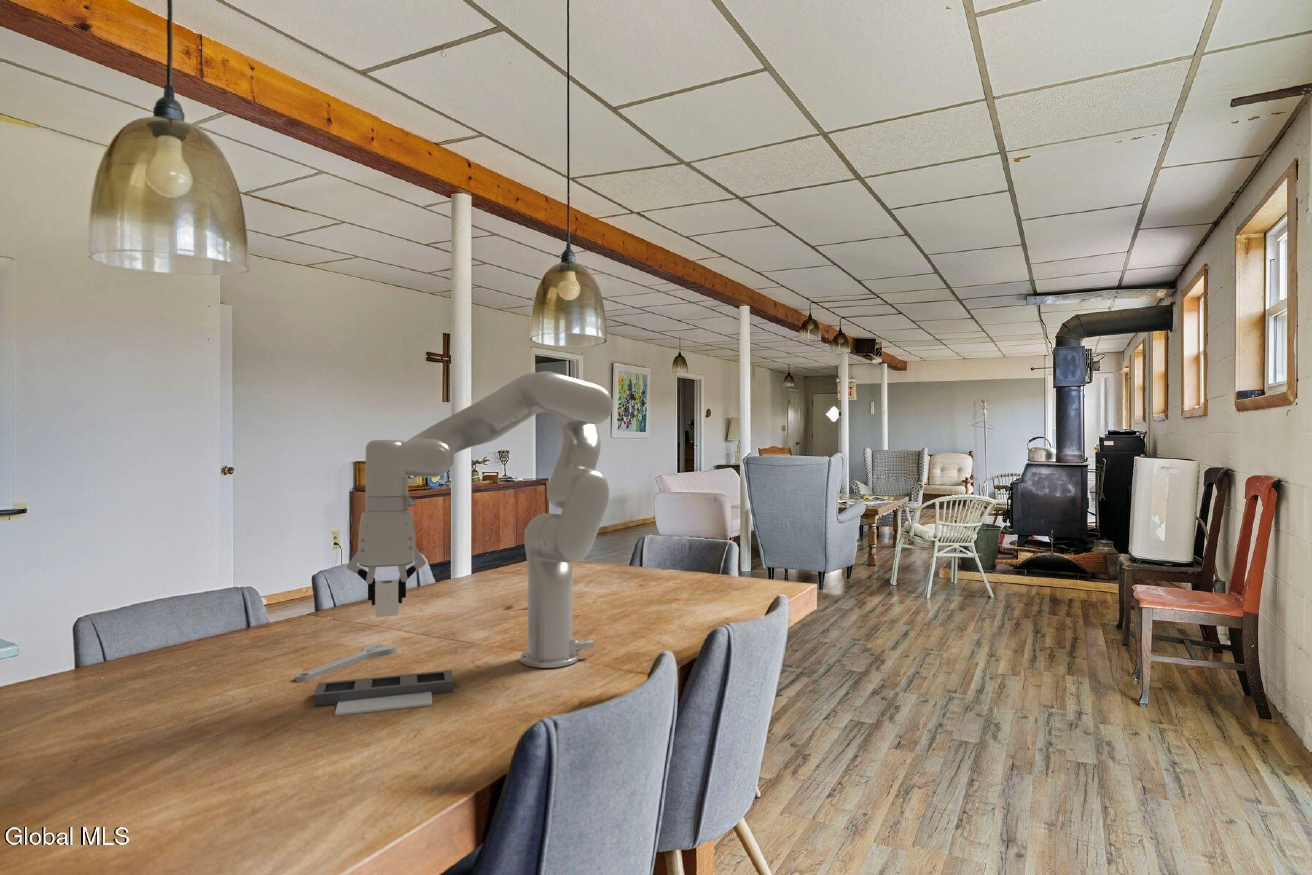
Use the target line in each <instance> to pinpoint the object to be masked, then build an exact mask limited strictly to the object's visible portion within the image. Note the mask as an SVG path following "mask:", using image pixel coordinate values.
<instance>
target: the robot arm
mask: <svg viewBox="0 0 1312 875" xmlns="http://www.w3.org/2000/svg"><path fill="white" fill-rule="evenodd" d="M613 406H614V405H613V399H612V396H611V394H610V393H609V392H608V390H607V389H605V388H604V387H602V386H601V385H598V384H597V383H593V382H589V381H585V380H582V379H578V378H574V377H572V376H570V375H569V376H568V375H565V374H561V373H557V372H554V371H549V370H546V371H545V370H542V371H538V372H530V373H529V372H528V373H525V374H523V375H521V376H518V377H517V378H514V379H513V380H511V381H509V382H507V384H505V385H503V386H502V387H500V388H498V389H497V390H495V391H493V392H492V393H490V394H489V395H487V396H484V397H483V398H481V399H480V400H478V401H476V402H474V403H473V404H471V405H469V406H467V407H465V408H463V409H461V410H459V411H458V412H455V413H454V414H453V415H450V416H448V417H446V418H444V419H442V420H440V421H438V422H436V423H435V424H433V425H431V426H429V427H428V428H426V429H424V430H422V431H421V432H419V433H417V434H416V435H414V436H413V437H411V438H409V439H408V440H407V441H404V440H402V439H401V440H399V439H373V440H371V441H370V440H369V442H367V444H366V446H365V512H361V516H360V521H359V529H358V537H357V538H358V539H357V551H356V552H355V554H354V555H353V557H352V558H351V559H350V560H349V563H348V564H347V566H346V568H347V570H349V571H350V572H352V573H354V574H356V575H358V576H359V577H360V578H361V579H362V580H364V582H365V583H366V584H367V601H371V606H375V584H376V578H375V574H376V573H375V572H376V568H382V567H383V568H384V567H386V568H387V567H398V572H399V577H398V579H399V581H398V603H399V604H403V599H405V598H407V581H408V580H409V579H410V578H411V576H413V575H414V574H415V573H416V572H417V571H418V570H420V569H421V568H423V567H424V566H425V565H427V564H426V563H427V562H426V560H425V558H424V556H423V555H422V554H421V552H420V551H419V550H418V548H417V546H416V543H417V542H416V528H415V527H416V526H415V518H414V515H413V514H414V513H413V511H411V510H410V511H409V508H411V507H413V506H417V498H413V497H410V496H409V477H420V478H421V477H422V478H427V479H428V478H429V479H430V478H431V479H432V478H433V479H435V478H439V477H442V476H443V475H445V474H446V473H447V472H449V471H450V469H451V468H452V466H453V463H454V455H455V454H457V453H459V452H462V451H464V450H467V449H470V448H472V447H477V446H480V445H484V444H487V443H490V442H492V441H495V440H497V439H500V438H501V437H502V436H505V434H507V433H509V432H510V431H512V430H513V429H515V428H516V427H518V426H519V425H521V424H522V423H524V422H526V421H527V420H529V419H530V418H532V417H533V416H535V415H536V414H539V413H552V414H554V416H555V418H556V420H557V421H558V424H559V425H560V428H561V431H562V437H563V438H562V446H561V449H560V452H559V456H558V458H557V461H556V463H555V466H554V469H553V472H552V474H551V477H550V479H549V481H548V484H547V489H546V496H547V499H548V501H549V503H550V504H551V505H552V506H553V507H555V508H556V509H560V510H561V513H560V514H557V513H552V512H550V513H549V512H548V513H547V512H546V513H541V514H539V515H536V516H534V518H532V519H531V520H530V521H529V522H528V524H527V526H526V528H525V532H524V540H523V541H524V549H525V550H524V551H525V556H526V563H527V650H525V651H523V652H522V653H520V657H519V658H520V659H519V660H520V662H521V664H523V665H525V666H528V667H531V668H537V669H538V668H539V669H540V668H541V669H551V668H553V669H555V668H562V667H566V666H570V665H573V664H575V663H576V662H578V661H579V659H580V651H581V650H592V649H593V650H594V647H595V643H594V640H593V639H586V638H579V639H576V638H575V637H574V636H573V572H572V565H571V564H574V563H578V562H580V561H582V560H583V559H585V558H586V557H587V555H588V554H589V552H590V551H591V549H592V548H593V545H594V543H595V540H596V538H597V535H598V532H599V530H600V527H601V524H602V521H603V518H604V515H605V511H606V509H607V506H608V503H609V498H610V489H609V483H608V480H607V479H606V477H605V476H604V475H603V474H602V472H600V471H599V470H596V467H597V463H598V460H599V457H600V454H601V448H602V446H601V445H602V444H601V443H602V442H601V437H600V434H599V430H598V428H597V427H598V426H597V425H599V424H601V423H603V422H605V421H606V420H608V418H609V417H610V416H611V414H612V410H613ZM415 561H416V562H415ZM414 562H415V563H414ZM411 564H412V565H411ZM408 565H409V567H408V568H407V566H408ZM365 568H368V569H365Z"/></svg>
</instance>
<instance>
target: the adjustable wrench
mask: <svg viewBox="0 0 1312 875" xmlns="http://www.w3.org/2000/svg"><path fill="white" fill-rule="evenodd" d="M382 646H383V644H382V643H374V644H371V645H370V644H369V645H367V646H365V647H364V646H362V649H361V650H360V651H359V652H357V653H355V654H352V655H348V656H345V657H343V658H340V659H336V660H334V661H331V662H329V663H326V664H321V665H320V666H316V667H314V668H311V669H307V670H305V671H302V672H300V673H297V674H295V676H294V679H295V682H297V683H302V682H306V681H310V680H313V679H316V678H318V677H321V676H324V675H327V674H329V673H332V672H335V671H338V670H340V669H344V668H346V667H349V666H351V665H354V664H357V663H360V662H362V661H365V660H368V659H372V658H378V657H383V656H388V655H389V656H390V655H393V654H395V653H397V652H398V644H397V643H392V644H391V645H390V646H383V647H382ZM356 662H357V663H356Z"/></svg>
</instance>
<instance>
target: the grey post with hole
mask: <svg viewBox="0 0 1312 875" xmlns="http://www.w3.org/2000/svg"><path fill="white" fill-rule="evenodd" d="M398 581H399V578H398V579H397V578H396V579H384V580H382V579H381V580H375V582H376V584H375V605H374V610H375V611H374V614H375V615H374V616H375V618H379V617H380V618H381V617H392V616H393V617H394V616H399V613H400V612H399V610H400V607H399V606H400V605H399V603H398Z"/></svg>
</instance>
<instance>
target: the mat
mask: <svg viewBox="0 0 1312 875" xmlns="http://www.w3.org/2000/svg"><path fill="white" fill-rule="evenodd" d="M432 695H433V694H431V692H425V693H415V694H406V695H396V696H387V697H377V698H368V699H358V700H349V701H339V702H338V704H336V709H335V711H334V716H335V717H336V716H344V715H354V714H356V715H357V714H363V713H372V712H382V711H391V710H400V709H409V708H417V707H419V708H420V707H426V706H433V697H432Z"/></svg>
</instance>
